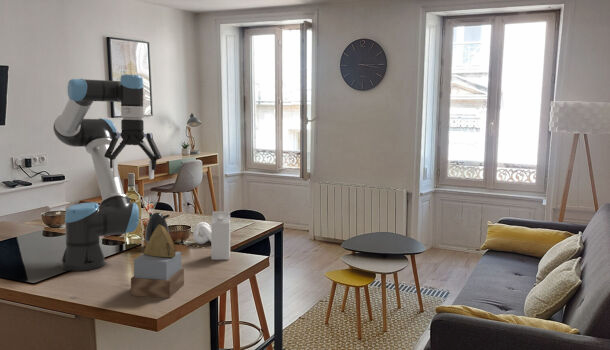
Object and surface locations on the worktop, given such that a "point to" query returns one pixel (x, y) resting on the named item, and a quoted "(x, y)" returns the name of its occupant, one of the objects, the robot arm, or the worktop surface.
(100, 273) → the worktop surface
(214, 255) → the milk carton
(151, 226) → the pump dispenser
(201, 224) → the white spiral shell
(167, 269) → the top block
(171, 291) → the bottom block
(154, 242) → the rock
